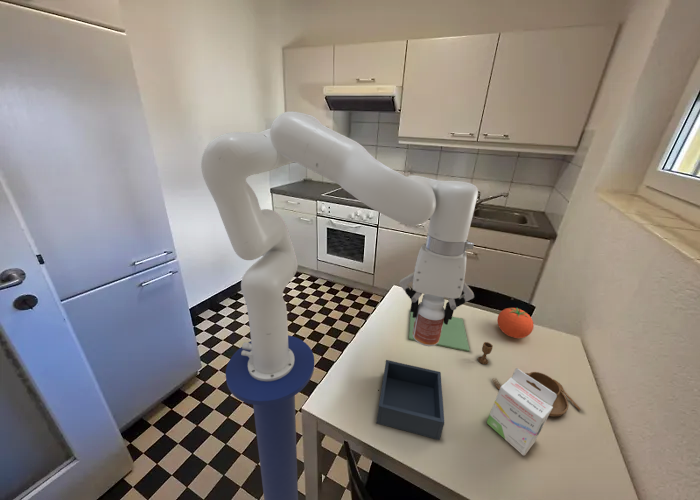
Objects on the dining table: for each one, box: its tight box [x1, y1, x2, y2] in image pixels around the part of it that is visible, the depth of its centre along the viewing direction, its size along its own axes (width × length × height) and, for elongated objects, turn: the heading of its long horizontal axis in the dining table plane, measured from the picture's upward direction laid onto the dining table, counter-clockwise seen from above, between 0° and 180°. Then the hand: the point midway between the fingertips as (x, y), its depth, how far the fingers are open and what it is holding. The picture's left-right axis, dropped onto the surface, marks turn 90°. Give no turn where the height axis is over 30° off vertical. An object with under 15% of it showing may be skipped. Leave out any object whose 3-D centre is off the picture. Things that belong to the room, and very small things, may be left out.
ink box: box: [486, 367, 557, 456], centre depth 58 cm, size 9×5×15 cm, turn 35°
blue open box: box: [375, 359, 445, 441], centre depth 65 cm, size 14×14×6 cm
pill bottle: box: [413, 294, 446, 347], centre depth 63 cm, size 6×6×11 cm
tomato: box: [496, 307, 535, 339], centre depth 90 cm, size 10×10×10 cm
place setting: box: [477, 341, 581, 417], centre depth 73 cm, size 18×20×6 cm
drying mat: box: [408, 312, 470, 352], centre depth 93 cm, size 18×16×1 cm
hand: (429, 316), depth 63 cm, fingers closed on pill bottle, 6 cm apart
